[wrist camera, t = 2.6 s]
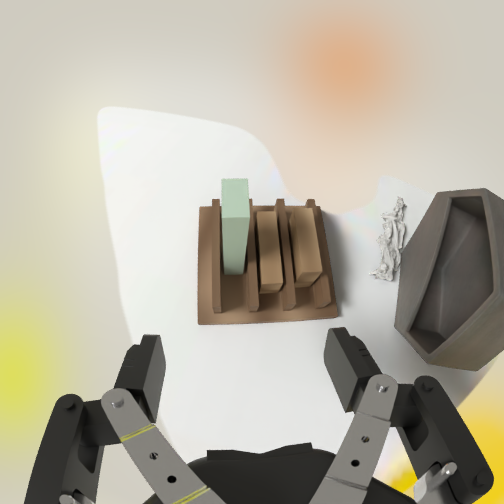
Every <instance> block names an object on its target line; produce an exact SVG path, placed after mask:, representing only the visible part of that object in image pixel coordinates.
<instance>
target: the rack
mask: <svg viewBox="0 0 504 504" xmlns="http://www.w3.org/2000/svg"><path fill="white" fill-rule="evenodd" d="M293 208H312V210H313V216H314V222H315V227H316V233H317V239H318V245H319V252H320V258H321V265H322V273H321V274H320V275H319V276H318V277H317V279H316V280H315V281H314V282H313V283H312V285H311V286H310V287H302V288H295V287H294V278H293V269H292V260H291V251H290V243H289V234H288V226H287V225H288V222H289V219H290V217H291V214H292V211H293ZM249 209H250V221H249V229H248V237H247V245H246V253H245V261H244V270H243V274H236V275H224V257H223V235H222V206H220V199H212V206H208V207H200V210H199V239H198V324H199V325H217V324H251V323H272V322H289V321H304V320H317V319H328V318H336V317H337V316H338V314H337V306H336V298H335V291H334V284H333V278H332V271H331V265H330V258H329V252H328V247H327V241H326V235H325V230H324V224H323V219H322V214H321V209H320V206H316V205H315V200H314V199H308V200H307V202H306V205H305V206H285V203H284V199H277V200H276V204H275V206H253V205H252V199H249ZM259 211H276V218H277V228H278V237H279V247H280V256H281V267H282V277H283V284H282V286H281V288H280V290H279V291H278V293H267V294H259V287H258V271H257V256H256V241H255V222H256V216H257V212H259Z"/></svg>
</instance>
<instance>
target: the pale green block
mask: <svg viewBox="0 0 504 504" xmlns="http://www.w3.org/2000/svg"><path fill="white" fill-rule="evenodd" d="M249 221H250V209H249V192H248V179H222V235H223V257H224V275H236V274H243V270H244V261H245V253H246V245H247V237H248V229H249Z"/></svg>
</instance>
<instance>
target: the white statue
mask: <svg viewBox="0 0 504 504" xmlns="http://www.w3.org/2000/svg"><path fill="white" fill-rule="evenodd" d="M398 198H399V199H398V200H397V204H396V207H395V209H394V212H393V213H383V214H382V215H381V216H382V217H381V218H383V219H384V220H385V221H386V222H387V223H384V224H383V228H384V229H385V233H384V234H383V235H380V237H379V238H378V239H377V242H378V243H380V244H381V245H380V249H381V256H382V259H381V261H382V262H381V265H380V267H379V269H377V270H375V271H371V272H370V273H369V275H372V274H375V275H376V276H375V279H376V278H380V279H384V280H385V279H387V280H389V281H391V280H392V279H393V276H392V270H393V269H394V270H395V271H398V269H397V268H398V265H399V264H400V259H401V255H400V252H399V250H398V249H400V248H402V241H403V234H404V231H405V227H404V226H405V224H404V223H403V222H402V221H401V219H402V217H403V213H402V207H403V205H404V206H406V207H407V205H405V204H404V202H403V199H402V198H401V197H398ZM401 215H402V217H401ZM385 226H387V227H386V228H385Z"/></svg>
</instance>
